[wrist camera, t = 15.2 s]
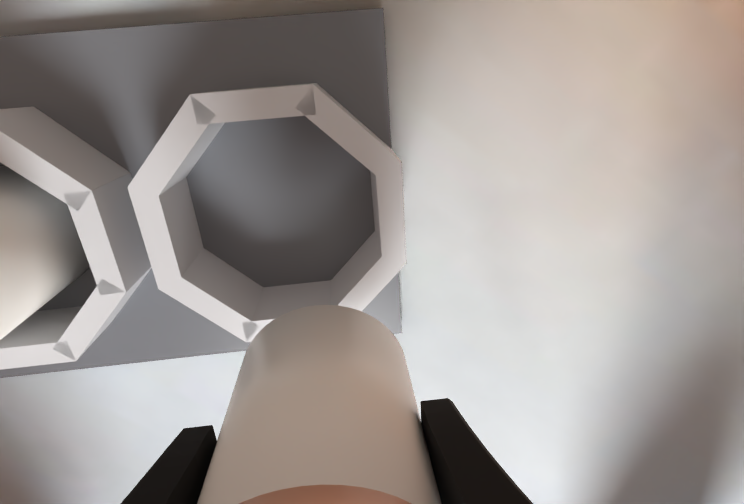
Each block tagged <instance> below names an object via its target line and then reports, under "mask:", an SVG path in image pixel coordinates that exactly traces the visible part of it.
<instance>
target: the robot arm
mask: <svg viewBox="0 0 744 504" xmlns="http://www.w3.org/2000/svg"><path fill="white" fill-rule="evenodd" d="M421 424H422V428H423V432H424V436H425V440H426V444H427V448H428V452H429V456H430V460H431V464H432V468H433V471H434V475H435V479H436V483H437V487H438V491H439V495H440V499H441V503H442V504H533V503H532V502H531V501H530V500H529V499H528V497H527V496H526V495H525V494H524V493H523V492H522V491H521V490H520V488H519V487H518V486H517V485H516V484H515V483H514V482H513V480H512V479H511V478H510V477H509V476H508V474H507V473H506V472H505V471H504V470H503V468H502V467H501V466H500V465H499V464H498V463H497V461H496V460H495V459H494V458H493V456H492V455H491V454H490V453H489V451H488V450H487V449H486V448H485V446H484V445H483V444H482V442H481V441H480V440H479V439H478V437H477V436H476V435H475V433H474V432H473V431H472V429H471V428H470V427H469V425H468V424H467V422H466V421H465V420H464V418H463V417H462V415H461V414H460V412H459V411H458V410H457V408H456V406H455V405H454V403H453V402H452V401H451V400H449V399H448V398H446V399H437V400H429V401H421ZM216 443H217V440H216V436H215V433H214V429H213V426H212V425H210V426H202V427H193V428H184V429H183V430H182V431H181V432H180V434H179V435H178V436H177V437H176V438H175V439H174V441H173V442H172V443H171V444H170V445H169V447H168V448H167V449H166V450H165V451H164V453H163V454H162V455H161V456H160V457H159V459H158V460H157V461H156V462H155V463H154V465H153V466H152V467H151V468H150V470H149V471H148V472H147V473H146V474H145V476H144V477H143V478H142V479H141V480H140V482H139V483H138V484H137V485H136V486H135V488H134V489H133V490H132V491H131V492H130V493H129V495H128V496H127V497H126V498H125V499H124V500H123V502H122V503H121V504H197V502H198V499H199V496H200V493H201V490H202V487H203V484H204V481H205V478H206V474H207V471H208V468H209V465H210V462H211V459H212V456H213V453H214V450H215V446H216Z"/></svg>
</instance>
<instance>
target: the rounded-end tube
mask: <svg viewBox="0 0 744 504" xmlns="http://www.w3.org/2000/svg"><path fill="white" fill-rule="evenodd" d="M197 504H442V503H441V499H440V495H439V491H438V487H437V483H436V479H435V475H434V471H433V468H432V464H431V460H430V456H429V452H428V448H427V444H426V440H425V436H424V432H423V428H422V424H421V419H420V416H419V412H418V408H417V404H416V400H415V396H414V392H413V388H412V384H411V380H410V376H409V372H408V368H407V364H406V360H405V356H404V353H403V350H402V348H401V346H400V344H399V342H398V340H397V339H396V337H395V336H394V334H393V333H392V332H391V331H390V330H389V329H388V328H387V327H386V326H385V325H384V324H382V323H381V322H380V321H379V320H377V319H375V318H374V317H372V316H371V315H368V314H366V313H364V312H362V311H359V310H356V309H353V308H349V307H344V306H339V305H314V306H308V307H303V308H299V309H296V310H292V311H290V312H288V313H285V314H283V315H281V316H279V317H278V318H276V319H274V320H272V321H271V322H270V323H269V324H267V325H266V326H265V327H264V328H263V329H262V330H261V331H260V332H259V333H258V334H257V335H256V336H255V337H254V339H253V340H252V341H251V343H250V345H249V347H248V349H247V351H246V354H245V357H244V359H243V363H242V366H241V369H240V372H239V375H238V378H237V381H236V384H235V387H234V391H233V394H232V397H231V400H230V403H229V406H228V409H227V412H226V415H225V418H224V422H223V425H222V428H221V431H220V434H219V437H218V440H217V443H216V446H215V450H214V453H213V456H212V459H211V462H210V465H209V468H208V471H207V474H206V478H205V481H204V484H203V487H202V490H201V493H200V496H199V499H198V502H197Z"/></svg>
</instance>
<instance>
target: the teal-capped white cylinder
mask: <svg viewBox="0 0 744 504" xmlns="http://www.w3.org/2000/svg"><path fill="white" fill-rule="evenodd" d="M89 266H90V265H89V262H88V260H87V257H86V254H85V251H84V249H83V246H82V243H81V240H80V238H79V235H78V232H77V230H76V227H75V224H74V221H73V219H72V216H71V213H70V210H69V208H68V205H67V204H66V203H64V202H63V201H61V200H60V199H58V198H56V197H55V196H53V195H52V194H50V193H48V192H47V191H45V190H44V189H42V188H40V187H39V186H37V185H36V184H34V183H32V182H31V181H29V180H28V179H26V178H24V177H23V176H21V175H20V174H18V173H17V172H15V171H13V170H12V169H10V168H9V167H7V166H0V340H1V339H2V338H3V337H5V336H6V335H7V334H8V333H10V332H11V331H12V330H13V329H15V328H16V327H17V326H18V325H20V324H21V323H22V322H23V321H24V320H26V319H27V318H28V317H29V316H31V315H32V314H33V313H34V312H36V311H37V310H38V309H39V308H41V307H42V306H43V305H44V304H46V303H47V302H48V301H49V300H51V299H52V298H53V297H54V296H56V295H57V294H58V293H59V292H61V291H62V290H63V289H64V288H66V287H67V286H68V285H69V284H71V283H72V282H73V281H74V280H76V279H77V278H78V277H79V276H81V275H82V274H83V273H84V272H85V271H86V270H87V268H88V267H89Z"/></svg>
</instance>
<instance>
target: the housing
mask: <svg viewBox="0 0 744 504" xmlns="http://www.w3.org/2000/svg"><path fill="white" fill-rule="evenodd" d="M0 166H7V167H9V168H10V169H12V170H13V171H15V172H17V173H18V174H20V175H21V176H23V177H24V178H26V179H28V180H29V181H31V182H32V183H34V184H36V185H37V186H39V187H40V188H42V189H44V190H45V191H47V192H48V193H50V194H52V195H53V196H55V197H56V198H58V199H60V200H61V201H63V202H64V203H66V204H67V205H68V208H69V210H70V213H71V216H72V219H73V221H74V224H75V227H76V230H77V232H78V235H79V238H80V240H81V243H82V246H83V249H84V251H85V254H86V257H87V260H88V262H89V265H90V266H89V267H88V268H87V270H86V271H85V272H84V273H83V274H82V275H81V276H79V277H78V278H77V279H76V280H74V281H73V282H72V283H71V284H69V285H68V286H67V287H66V288H64V289H63V290H62V291H61V292H59V293H58V294H57V295H56V296H54V297H53V298H52V299H51V300H49V301H48V302H47V303H46V304H44V305H43V306H42V307H41V308H39V309H38V310H37V311H36V312H34V313H33V314H32V315H31V316H29V317H28V318H27V319H26V320H24V321H23V322H22V323H21V324H20V325H18V326H17V327H16V328H15V329H13V330H12V331H11V332H10V333H8V334H7V335H6V336H5V337H3V338H2V339H1V340H0V378H3V377H12V376H21V375H30V374H39V373H48V372H57V371H66V370H75V369H84V368H93V367H102V366H111V365H120V364H129V363H138V362H147V361H156V360H165V359H174V358H183V357H191V356H200V355H209V354H218V353H227V352H236V351H245V350H247V349H248V347H249V345H250V343H251V341H252V340H253V339H254V337H255V336H256V335H257V334H258V333H259V332H260V331H261V330H262V329H263V328H264V327H265V326H266V325H267V324H269V323H270V322H271V321H272V320H274V319H276V318H278V317H279V316H281V315H283V314H285V313H288V312H290V311H292V310H296V309H299V308H303V307H308V306H314V305H339V306H344V307H349V308H353V309H356V310H359V311H362V312H364V313H366V314H368V315H371V316H372V317H374V318H375V319H377V320H379V321H380V322H381V323H382V324H384V325H385V326H386V327H387V328H388V329H389V330H390V331H391V332H392V333H393V334H398V333H402V326H401V308H400V291H399V273H398V272H399V271H400V270H401V269H402V268H403V267H404V266H405V265H406V263H407V259H406V239H405V218H404V198H403V177H402V162H401V160H400V159H399V158H398V157H397V155H396V154H395V153H394V152H393V150H392V149H391V135H390V117H389V100H388V82H387V65H386V48H385V30H384V13H383V8H377V9H364V10H350V11H337V12H324V13H310V14H297V15H284V16H271V17H257V18H244V19H231V20H217V21H204V22H191V23H178V24H164V25H151V26H138V27H124V28H111V29H98V30H85V31H71V32H58V33H45V34H32V35H18V36H5V37H0Z"/></svg>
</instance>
